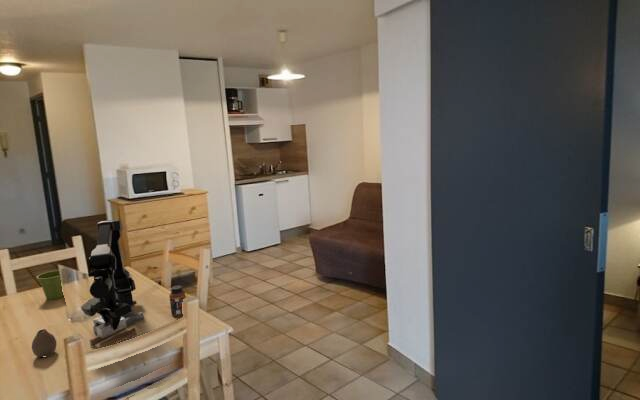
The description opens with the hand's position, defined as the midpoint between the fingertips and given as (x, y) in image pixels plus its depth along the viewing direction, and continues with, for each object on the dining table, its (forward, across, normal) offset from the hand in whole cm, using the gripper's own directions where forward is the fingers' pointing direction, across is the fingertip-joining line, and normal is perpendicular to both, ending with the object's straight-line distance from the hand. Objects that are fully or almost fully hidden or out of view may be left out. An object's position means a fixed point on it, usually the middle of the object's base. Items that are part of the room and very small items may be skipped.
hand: (112, 328), depth 146 cm
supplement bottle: (+4, +5, +25) cm, 26 cm away
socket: (+4, -9, +8) cm, 13 cm away
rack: (+4, 0, 0) cm, 4 cm away
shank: (+1, 0, 0) cm, 1 cm away
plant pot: (+5, -65, +12) cm, 66 cm away
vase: (+4, -12, -17) cm, 21 cm away
